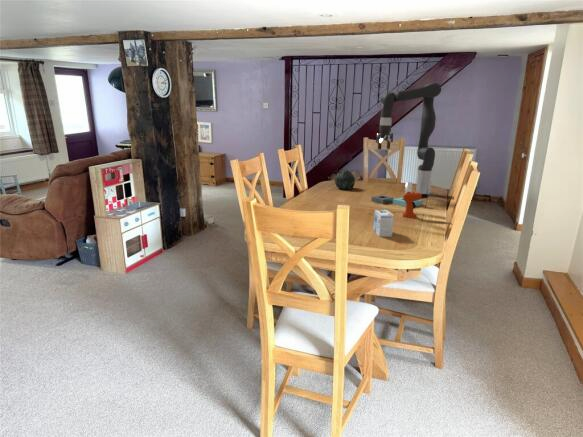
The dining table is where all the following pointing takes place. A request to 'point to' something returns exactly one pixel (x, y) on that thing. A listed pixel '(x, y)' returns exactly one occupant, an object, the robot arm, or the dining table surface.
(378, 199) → the socket block
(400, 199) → the block
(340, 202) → the dining table surface
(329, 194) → the dining table surface
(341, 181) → the squash
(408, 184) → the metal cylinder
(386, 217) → the light bulb box
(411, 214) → the toy drill
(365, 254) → the dining table surface
